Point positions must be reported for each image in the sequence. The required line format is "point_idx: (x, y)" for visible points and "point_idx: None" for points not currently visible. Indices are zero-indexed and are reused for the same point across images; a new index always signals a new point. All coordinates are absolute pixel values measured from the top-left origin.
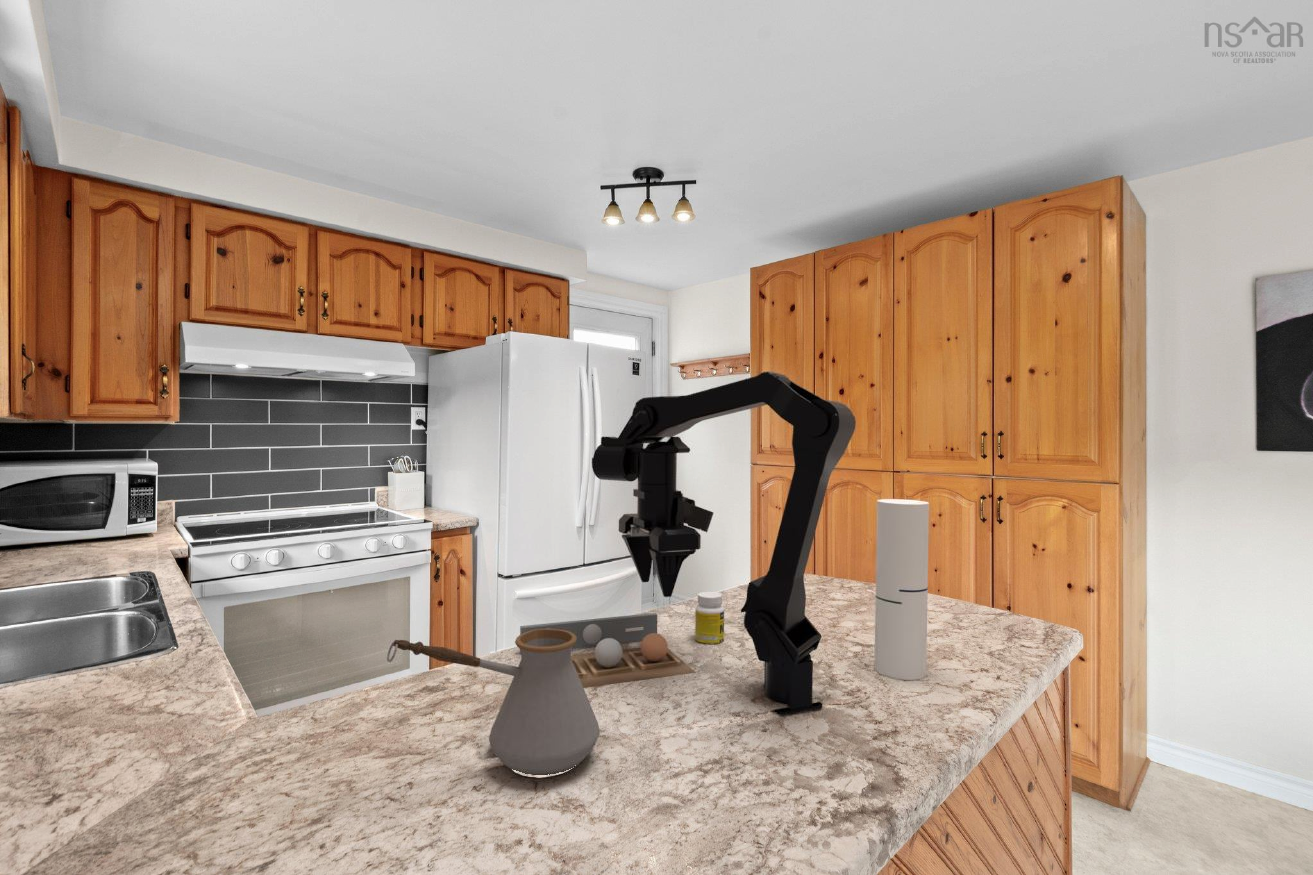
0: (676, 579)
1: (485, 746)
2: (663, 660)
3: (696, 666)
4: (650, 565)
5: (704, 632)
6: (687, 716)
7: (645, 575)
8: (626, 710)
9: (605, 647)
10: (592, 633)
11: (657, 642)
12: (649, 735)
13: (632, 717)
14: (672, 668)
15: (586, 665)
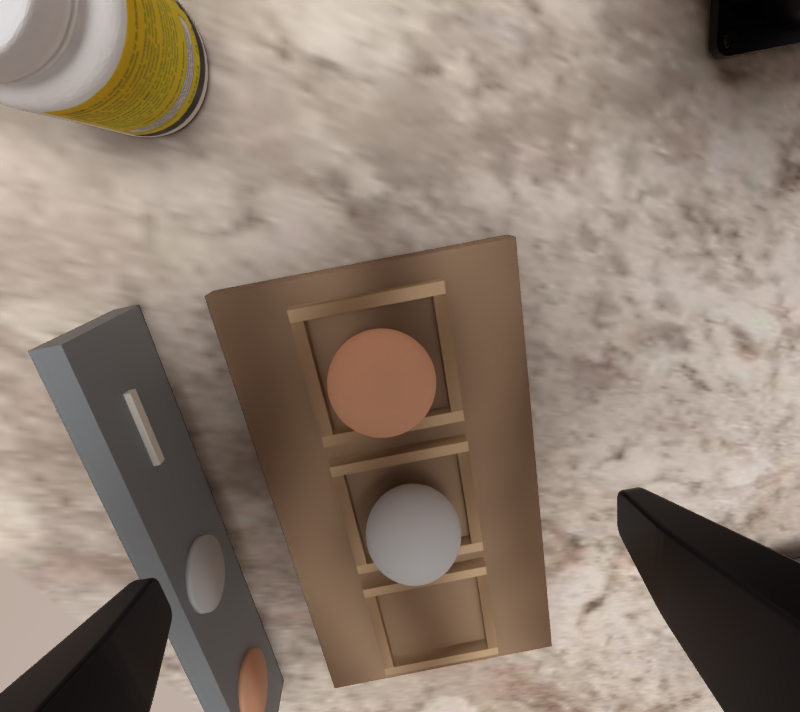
0: (794, 561)
1: (700, 689)
2: None
3: (388, 198)
4: (58, 702)
5: (170, 92)
6: (744, 323)
7: (144, 646)
8: (652, 464)
9: (450, 565)
10: (208, 574)
11: (428, 390)
12: (793, 429)
13: (694, 454)
14: (464, 313)
15: None
